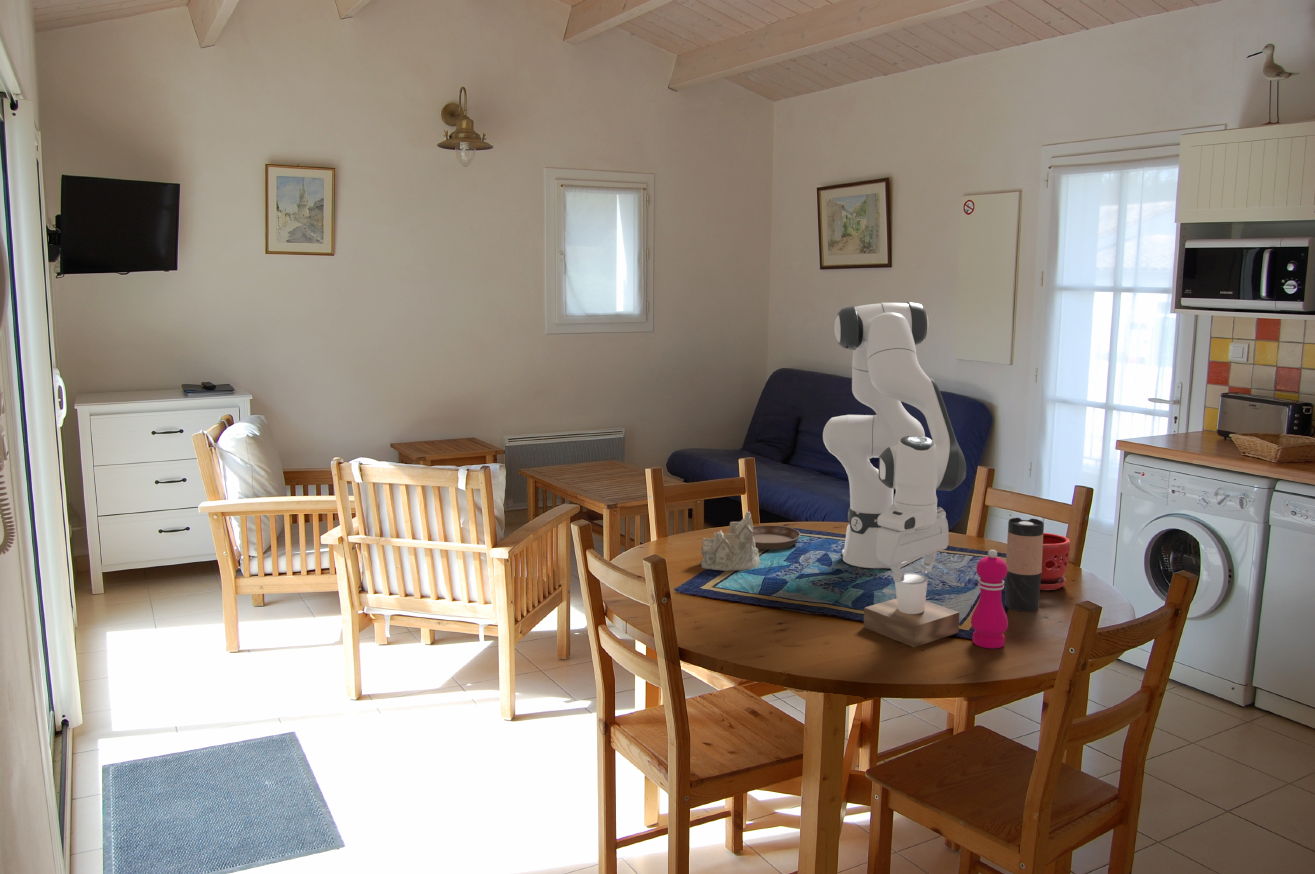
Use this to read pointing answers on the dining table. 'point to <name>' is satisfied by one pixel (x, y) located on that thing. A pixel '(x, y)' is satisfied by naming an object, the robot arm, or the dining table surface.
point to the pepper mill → (990, 603)
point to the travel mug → (1023, 564)
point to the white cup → (911, 593)
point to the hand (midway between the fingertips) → (912, 576)
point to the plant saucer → (774, 537)
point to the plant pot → (1054, 561)
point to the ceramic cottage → (731, 548)
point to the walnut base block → (911, 622)
